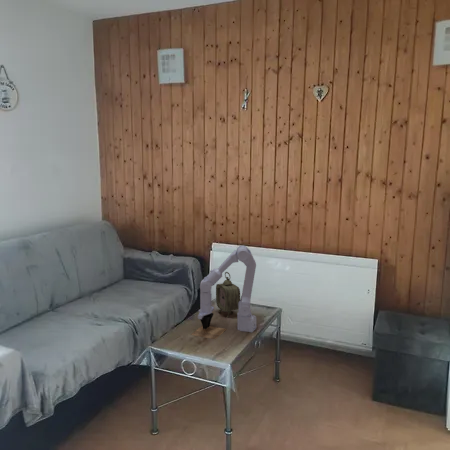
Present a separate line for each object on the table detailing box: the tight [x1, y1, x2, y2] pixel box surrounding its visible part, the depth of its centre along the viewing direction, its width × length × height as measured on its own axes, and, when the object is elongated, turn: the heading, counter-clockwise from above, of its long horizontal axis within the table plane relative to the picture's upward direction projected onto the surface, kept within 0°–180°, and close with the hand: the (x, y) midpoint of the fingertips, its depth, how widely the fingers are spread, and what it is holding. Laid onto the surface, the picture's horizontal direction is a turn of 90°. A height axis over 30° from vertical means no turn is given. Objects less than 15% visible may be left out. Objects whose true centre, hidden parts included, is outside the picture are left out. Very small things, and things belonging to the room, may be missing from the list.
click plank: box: [195, 325, 228, 336], centre depth 223 cm, size 14×8×1 cm, turn 66°
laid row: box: [190, 330, 221, 340], centre depth 217 cm, size 14×5×1 cm, turn 66°
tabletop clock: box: [215, 271, 241, 319], centre depth 246 cm, size 14×9×25 cm, turn 25°
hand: (206, 327), depth 225 cm, fingers closed
